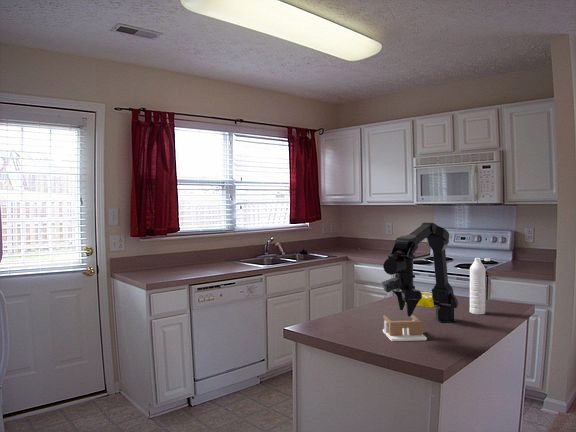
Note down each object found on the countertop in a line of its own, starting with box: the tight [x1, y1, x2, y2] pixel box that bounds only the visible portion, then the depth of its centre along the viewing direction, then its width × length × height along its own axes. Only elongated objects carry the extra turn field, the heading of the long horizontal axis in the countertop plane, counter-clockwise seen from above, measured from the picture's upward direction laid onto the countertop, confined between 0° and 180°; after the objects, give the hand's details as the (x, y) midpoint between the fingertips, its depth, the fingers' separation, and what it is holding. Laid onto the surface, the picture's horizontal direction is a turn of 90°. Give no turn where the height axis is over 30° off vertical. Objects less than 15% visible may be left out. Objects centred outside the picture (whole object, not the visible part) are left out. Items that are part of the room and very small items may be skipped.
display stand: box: [382, 319, 428, 342], centre depth 165 cm, size 12×13×5 cm
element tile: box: [405, 291, 437, 308], centre depth 217 cm, size 15×15×5 cm
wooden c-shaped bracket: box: [382, 314, 423, 336], centre depth 167 cm, size 10×12×5 cm
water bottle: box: [469, 257, 491, 315], centre depth 195 cm, size 9×6×25 cm
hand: (405, 313), depth 162 cm, fingers open, 9 cm apart
